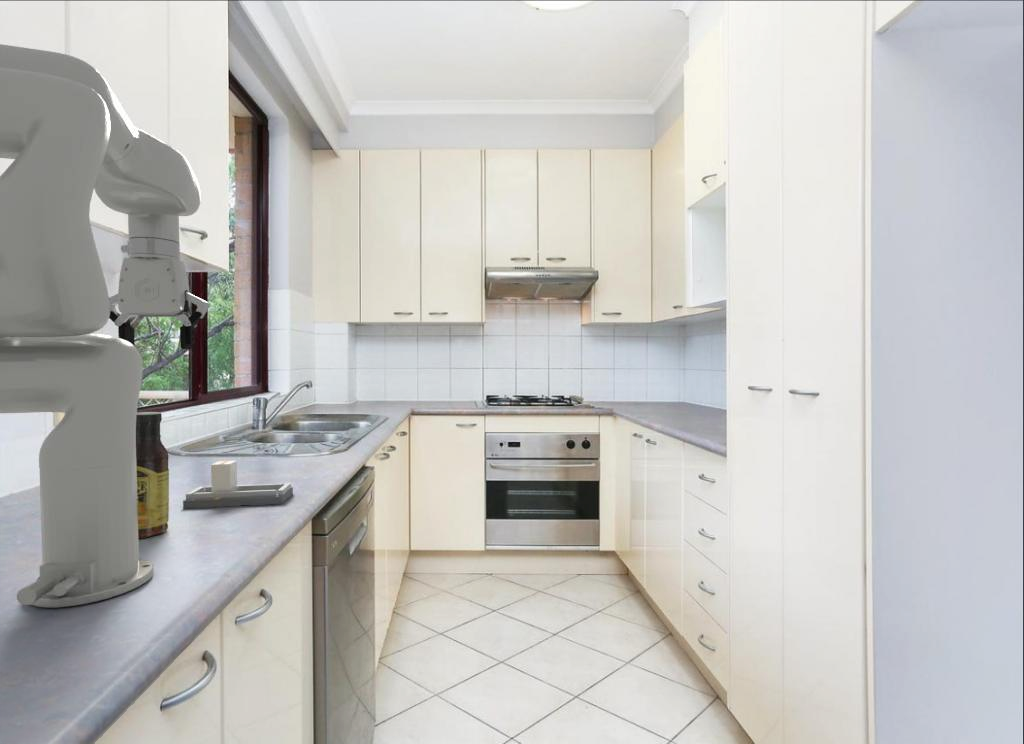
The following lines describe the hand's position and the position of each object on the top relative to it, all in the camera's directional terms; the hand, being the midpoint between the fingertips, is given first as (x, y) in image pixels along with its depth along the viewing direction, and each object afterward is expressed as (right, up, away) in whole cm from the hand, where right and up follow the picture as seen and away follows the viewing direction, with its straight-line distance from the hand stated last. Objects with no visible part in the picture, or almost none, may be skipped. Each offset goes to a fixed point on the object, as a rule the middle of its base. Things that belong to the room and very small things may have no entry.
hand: (157, 349), depth 95 cm
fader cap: (+6, -28, +12) cm, 31 cm away
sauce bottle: (+3, -31, -8) cm, 32 cm away
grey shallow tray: (+9, -30, +12) cm, 33 cm away
